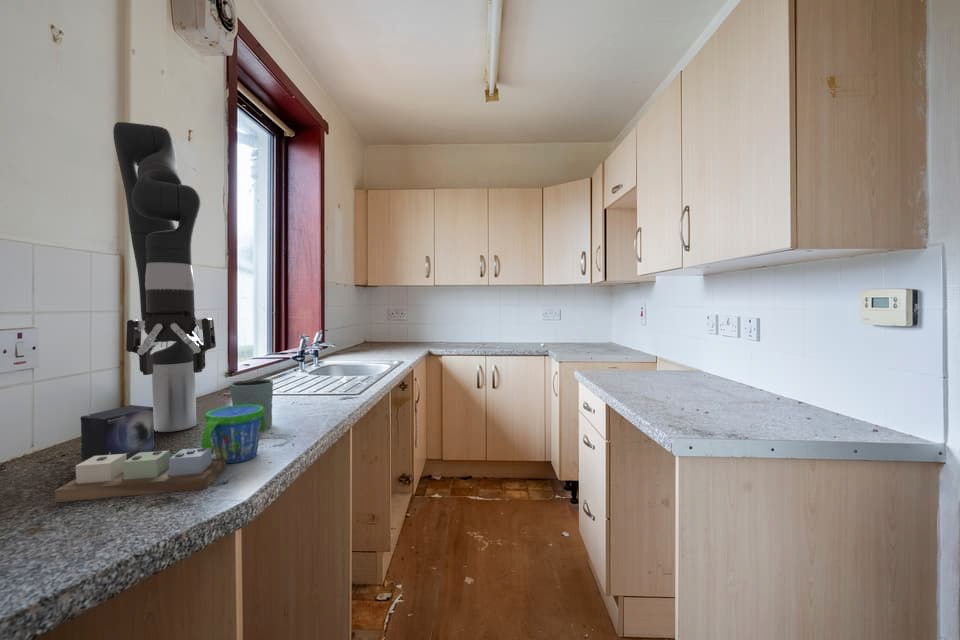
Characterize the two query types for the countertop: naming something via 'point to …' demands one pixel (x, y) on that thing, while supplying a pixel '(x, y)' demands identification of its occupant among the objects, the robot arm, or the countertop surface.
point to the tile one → (100, 468)
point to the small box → (118, 432)
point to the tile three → (190, 461)
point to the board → (139, 485)
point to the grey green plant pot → (254, 395)
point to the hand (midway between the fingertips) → (173, 373)
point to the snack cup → (234, 432)
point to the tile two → (146, 465)
